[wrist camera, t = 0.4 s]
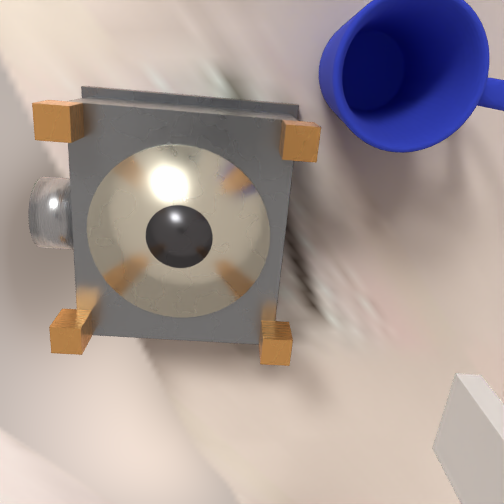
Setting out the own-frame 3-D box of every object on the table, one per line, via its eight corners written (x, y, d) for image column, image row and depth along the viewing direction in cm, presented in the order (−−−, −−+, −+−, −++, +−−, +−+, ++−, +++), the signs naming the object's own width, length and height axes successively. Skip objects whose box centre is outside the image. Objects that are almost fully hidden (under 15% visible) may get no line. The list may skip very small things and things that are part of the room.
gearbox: (50, 83, 34) (-7, 88, 26) (302, 104, 35) (322, 116, 27) (63, 300, 40) (21, 358, 32) (278, 313, 41) (288, 373, 33)
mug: (449, 150, 36) (522, 179, 27) (294, 118, 35) (316, 137, 26) (488, 34, 34) (586, 21, 24) (322, -5, 32) (357, -34, 23)
